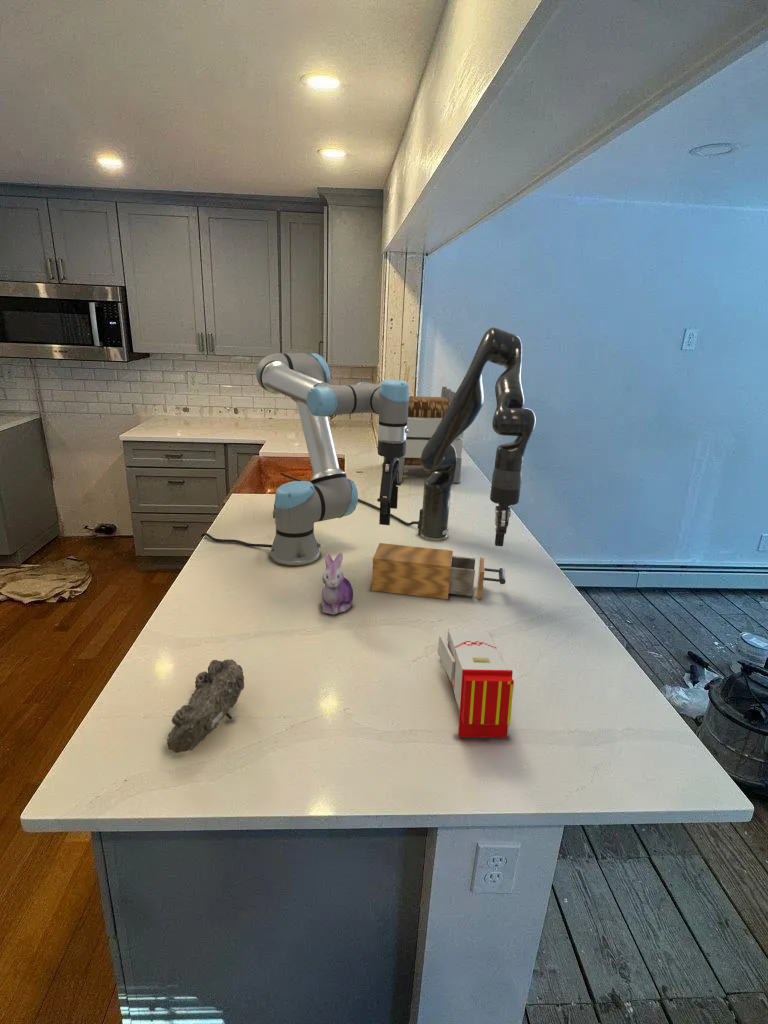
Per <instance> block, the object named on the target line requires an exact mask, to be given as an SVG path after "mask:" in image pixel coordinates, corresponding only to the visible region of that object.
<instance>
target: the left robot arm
mask: <svg viewBox="0 0 768 1024" xmlns="http://www.w3.org/2000/svg"><path fill="white" fill-rule="evenodd" d="M326 361H327V360H325V358H324V357H323V356H321V355H320V354H318V353H315V352H314V353H311V352H292V353H291V352H289V353H288V352H286V353H285V352H284V353H282V352H281V353H280V352H277V353H272V354H269V355H266V356H265V357H263V358H262V359H261V360H260V361H259V363H258V364H257V367H256V370H255V378H256V381H257V383H258V385H259V386H260V387H261V388H262V389H263V390H264V391H267V392H269V393H270V394H273V395H274V394H275V395H278V394H279V395H280V394H281V395H284V396H286V397H288V398H290V399H291V400H292V401H293V402H294V403H296V405H297V409H298V413H299V418H300V423H301V427H302V432H303V435H304V440H305V444H306V448H307V453H308V457H309V461H310V465H311V470H312V474H313V475H312V477H311V478H310V480H309V481H308V480H302V481H295V480H293V481H289V482H285V483H283V484H281V485H279V486H278V487H277V489H276V490H275V493H274V503H275V519H274V520H275V536H274V537H273V541H272V544H267V543H251V542H246V541H244V540H243V541H242V540H239V539H231V538H230V539H229V538H216V537H214V536H212V535H211V534H209V533H208V532H203V533H202V534H201V535H200V537H201V538H204V537H205V536H206V537H207V538H209V539H210V540H212V541H214V542H216V543H217V542H218V543H236V544H239V545H244V546H247V547H253V548H254V547H255V548H270V553H269V554H270V559H271V561H273V562H274V563H276V564H278V565H281V566H288V567H300V566H307V565H309V564H312V563H315V562H316V561H317V560H318V559H319V558H320V555H321V553H320V549H321V547H322V546H321V545H322V544H321V543H319V542H317V538H316V535H315V528H314V527H315V523H319V522H323V521H329V520H335V519H341V518H344V517H347V516H350V515H352V514H353V513H354V512H355V511H356V509H357V506H358V502H359V501H358V499H359V492H358V487H357V485H356V483H355V481H354V480H352V479H350V478H348V476H347V473H346V472H345V471H343V470H342V469H341V468H340V465H339V459H338V456H337V452H336V447H335V442H334V438H333V434H332V430H331V425H330V422H329V421H330V420H329V417H330V416H340V415H353V414H365V413H372V414H375V415H378V423H377V424H378V425H377V427H378V428H377V439H378V441H377V454H378V456H379V457H383V458H384V457H385V458H386V460H385V461H384V460H383V462H382V472H381V481H380V488H379V498H377V502H378V503H379V508H380V511H379V520H378V521H379V523H378V524H379V525H380V526H390V525H391V516H390V514H391V509H395V510H397V509H398V496H399V487H401V486H402V482H399V480H400V479H399V458H400V457H403V456H405V454H406V442H405V440H406V435H407V433H409V429H406V428H407V421H408V406H409V396H410V384H409V383H408V382H407V381H404V380H398V379H384V380H382V381H380V385H379V384H377V383H372V382H370V381H368V382H364V381H360V382H357V383H356V384H343V385H340V384H339V385H338V384H337V385H333V384H330V378H331V373H330V368H329V365H328V363H327V362H326Z"/></svg>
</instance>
